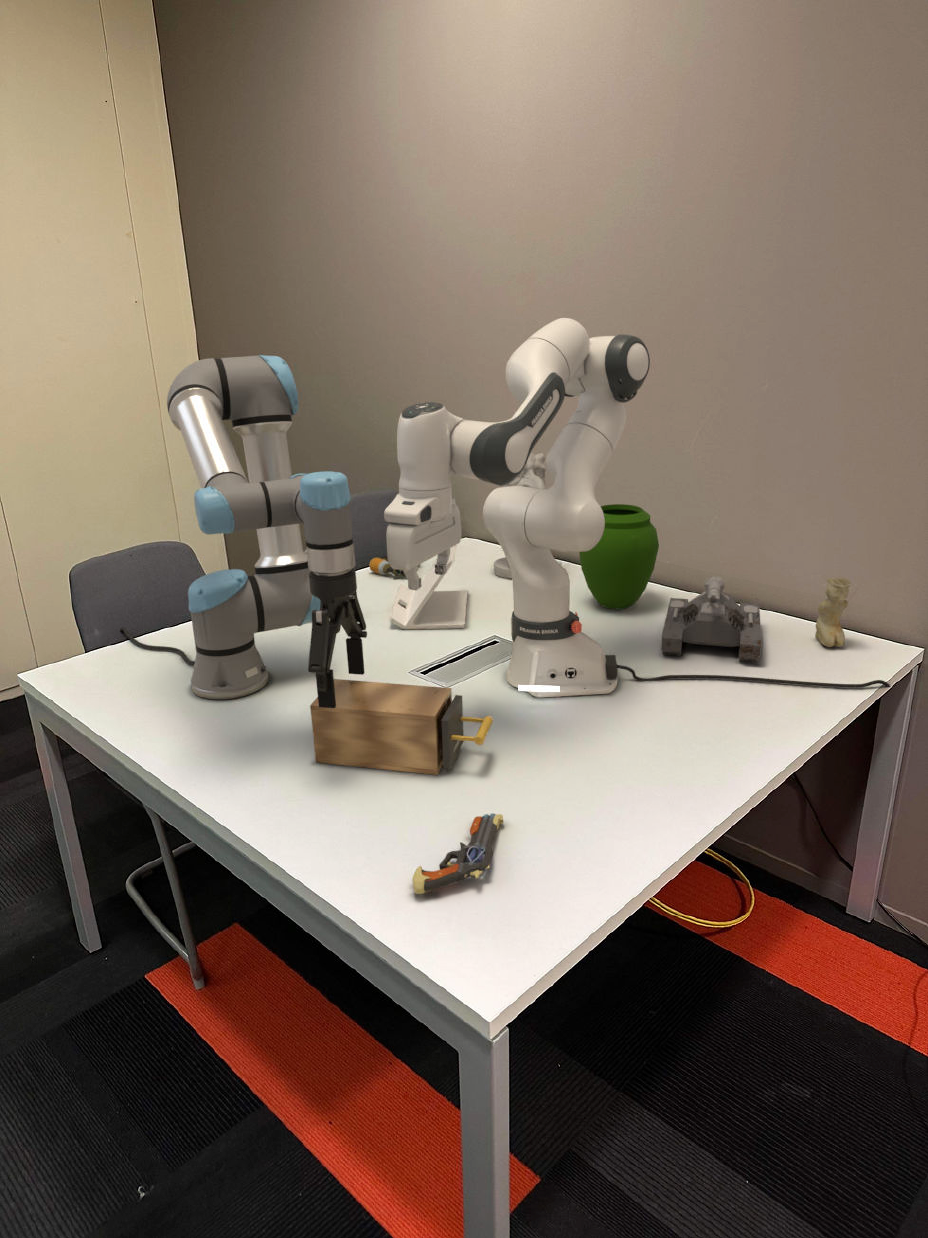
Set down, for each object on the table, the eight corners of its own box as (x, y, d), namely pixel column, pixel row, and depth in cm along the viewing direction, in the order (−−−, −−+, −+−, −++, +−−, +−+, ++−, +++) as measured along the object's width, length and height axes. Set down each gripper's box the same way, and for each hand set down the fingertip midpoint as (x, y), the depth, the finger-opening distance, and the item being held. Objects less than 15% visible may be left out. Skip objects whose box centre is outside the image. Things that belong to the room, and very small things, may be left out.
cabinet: (453, 744, 150) (451, 688, 146) (437, 775, 140) (435, 716, 137) (338, 733, 155) (333, 678, 151) (315, 762, 145) (309, 705, 142)
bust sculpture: (503, 593, 225) (502, 460, 212) (483, 567, 247) (480, 445, 234) (562, 587, 228) (563, 456, 215) (536, 562, 250) (536, 441, 237)
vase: (599, 587, 227) (601, 497, 218) (668, 600, 216) (673, 505, 208) (562, 608, 212) (564, 513, 204) (634, 623, 202) (639, 523, 193)
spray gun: (389, 561, 257) (433, 568, 251) (360, 574, 243) (406, 581, 237) (389, 547, 256) (434, 554, 250) (360, 559, 242) (406, 566, 236)
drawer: (494, 744, 148) (493, 697, 144) (482, 772, 139) (481, 723, 136) (353, 731, 153) (349, 686, 150) (334, 757, 145) (329, 710, 142)
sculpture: (821, 649, 184) (830, 583, 179) (808, 637, 191) (816, 573, 185) (848, 649, 184) (858, 582, 179) (834, 636, 191) (843, 572, 185)
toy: (669, 617, 205) (672, 557, 199) (757, 623, 199) (763, 562, 194) (660, 658, 182) (664, 591, 177) (759, 666, 177) (766, 598, 171)
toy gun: (407, 882, 111) (482, 881, 109) (438, 809, 129) (503, 808, 126) (410, 900, 111) (485, 900, 109) (441, 825, 129) (505, 824, 127)
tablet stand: (467, 593, 225) (465, 531, 219) (465, 628, 202) (462, 559, 196) (399, 594, 226) (395, 532, 220) (388, 629, 203) (384, 560, 197)
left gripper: (338, 548, 150) (348, 659, 157) (277, 592, 127) (291, 720, 134) (379, 549, 148) (386, 662, 155) (324, 595, 125) (336, 724, 133)
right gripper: (438, 489, 154) (440, 563, 159) (378, 513, 137) (382, 595, 141) (469, 492, 151) (470, 567, 156) (412, 517, 134) (415, 600, 139)
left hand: (342, 689), depth 145 cm, fingers open, 13 cm apart
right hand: (428, 581), depth 148 cm, fingers open, 8 cm apart
